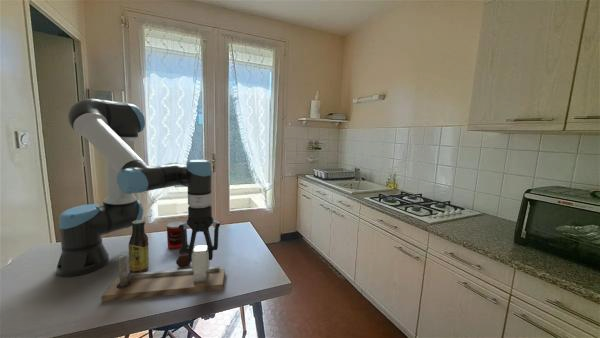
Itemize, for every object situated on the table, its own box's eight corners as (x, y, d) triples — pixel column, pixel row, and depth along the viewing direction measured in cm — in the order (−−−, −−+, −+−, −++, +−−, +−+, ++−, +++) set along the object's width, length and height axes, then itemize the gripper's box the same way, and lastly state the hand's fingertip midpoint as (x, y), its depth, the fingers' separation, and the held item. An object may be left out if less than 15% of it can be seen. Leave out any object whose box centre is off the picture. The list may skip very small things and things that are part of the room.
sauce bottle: (125, 273, 90) (122, 222, 88) (141, 265, 96) (139, 217, 93) (137, 277, 88) (135, 225, 85) (153, 268, 94) (151, 220, 91)
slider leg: (193, 282, 82) (192, 252, 81) (196, 273, 88) (196, 244, 86) (205, 281, 83) (205, 251, 82) (208, 272, 89) (208, 244, 87)
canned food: (180, 241, 118) (179, 219, 117) (189, 245, 114) (188, 223, 112) (164, 246, 112) (163, 224, 111) (172, 251, 108) (172, 228, 106)
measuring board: (102, 301, 75) (99, 265, 73) (118, 282, 84) (116, 250, 83) (222, 289, 83) (222, 257, 81) (224, 273, 92) (224, 244, 91)
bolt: (187, 254, 110) (186, 270, 96) (177, 250, 108) (173, 266, 94) (194, 242, 110) (193, 257, 97) (183, 238, 108) (181, 252, 95)
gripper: (169, 209, 76) (171, 276, 79) (225, 207, 80) (225, 272, 83) (176, 202, 84) (177, 265, 87) (226, 201, 87) (226, 261, 91)
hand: (201, 268), depth 85 cm, fingers closed on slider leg, 4 cm apart
